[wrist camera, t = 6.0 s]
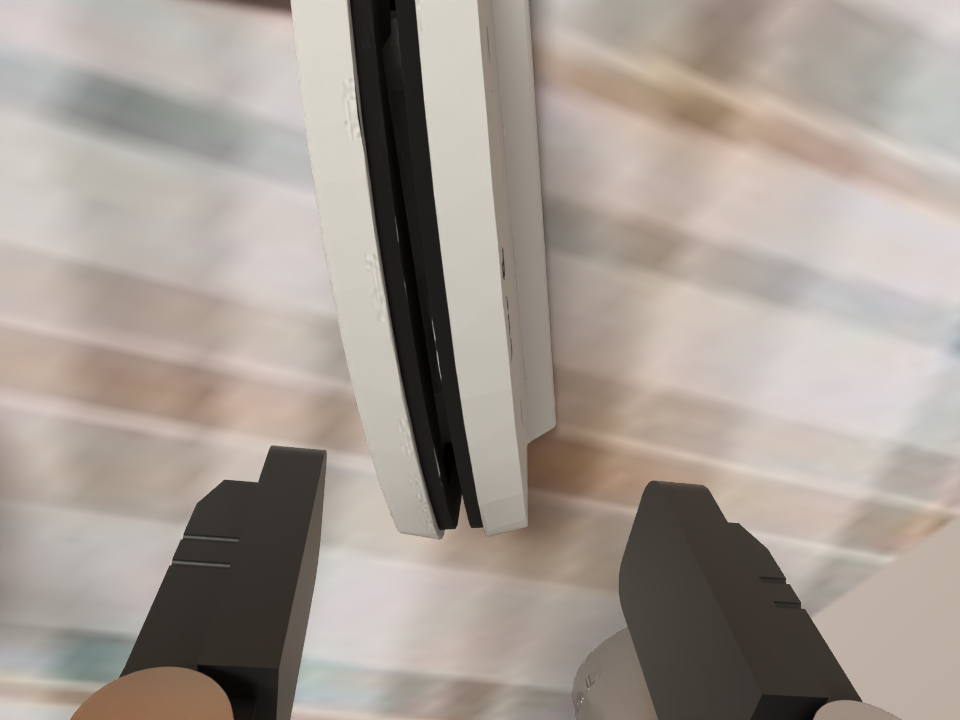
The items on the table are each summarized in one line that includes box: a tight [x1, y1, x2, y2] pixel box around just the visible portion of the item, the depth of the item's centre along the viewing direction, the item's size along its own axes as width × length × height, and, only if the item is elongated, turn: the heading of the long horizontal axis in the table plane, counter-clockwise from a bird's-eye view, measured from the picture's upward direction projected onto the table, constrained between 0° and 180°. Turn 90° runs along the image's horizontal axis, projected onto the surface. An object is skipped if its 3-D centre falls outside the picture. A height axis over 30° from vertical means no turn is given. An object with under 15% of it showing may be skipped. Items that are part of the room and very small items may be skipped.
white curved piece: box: [291, 0, 556, 540], centre depth 20 cm, size 17×5×10 cm, turn 6°
